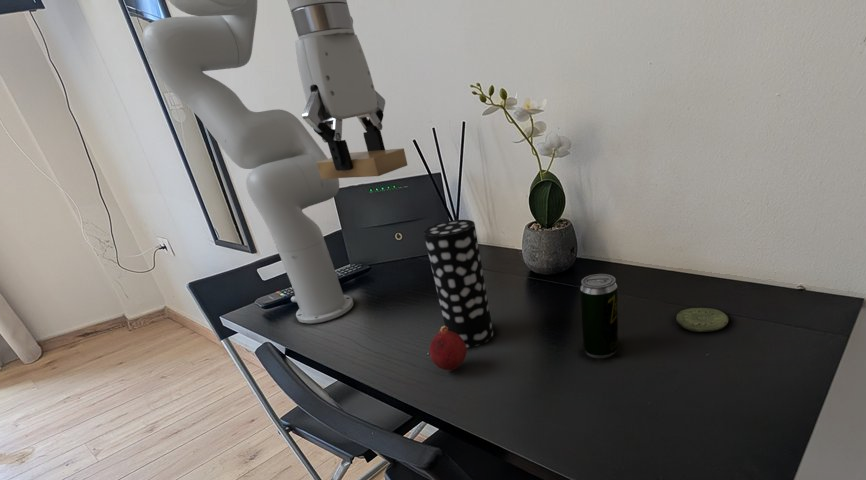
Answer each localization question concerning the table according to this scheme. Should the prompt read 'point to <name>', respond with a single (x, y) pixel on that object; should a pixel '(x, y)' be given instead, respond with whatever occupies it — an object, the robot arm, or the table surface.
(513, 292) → the table surface
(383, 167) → the flat wooden block
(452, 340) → the red pomegranate
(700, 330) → the medallion
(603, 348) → the beer can
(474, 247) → the spotted tube
